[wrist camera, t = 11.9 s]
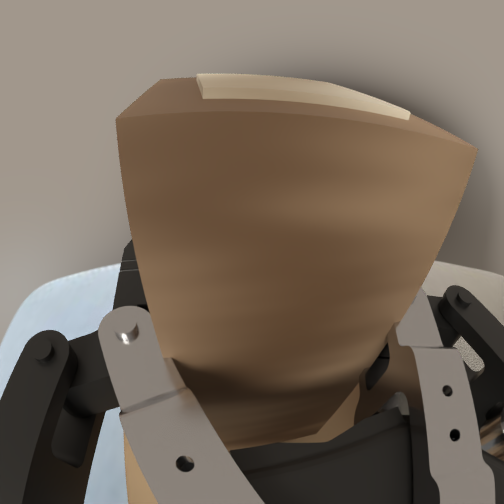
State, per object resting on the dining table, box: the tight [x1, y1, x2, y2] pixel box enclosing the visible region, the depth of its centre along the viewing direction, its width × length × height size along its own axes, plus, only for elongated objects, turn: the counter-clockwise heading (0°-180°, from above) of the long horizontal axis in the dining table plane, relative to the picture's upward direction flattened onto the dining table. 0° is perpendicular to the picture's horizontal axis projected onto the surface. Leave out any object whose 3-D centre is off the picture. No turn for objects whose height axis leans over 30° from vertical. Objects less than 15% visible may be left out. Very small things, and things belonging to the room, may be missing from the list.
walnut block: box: [116, 74, 478, 451], centre depth 8 cm, size 5×5×12 cm
